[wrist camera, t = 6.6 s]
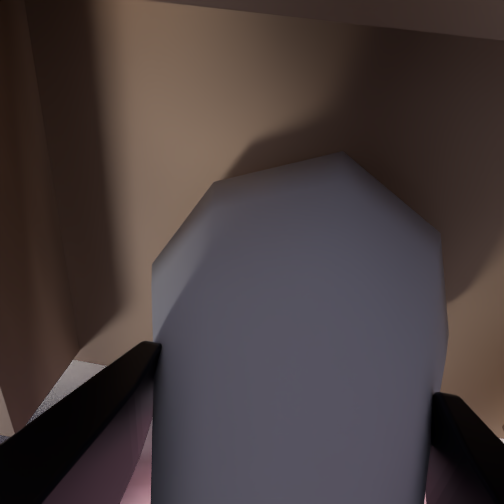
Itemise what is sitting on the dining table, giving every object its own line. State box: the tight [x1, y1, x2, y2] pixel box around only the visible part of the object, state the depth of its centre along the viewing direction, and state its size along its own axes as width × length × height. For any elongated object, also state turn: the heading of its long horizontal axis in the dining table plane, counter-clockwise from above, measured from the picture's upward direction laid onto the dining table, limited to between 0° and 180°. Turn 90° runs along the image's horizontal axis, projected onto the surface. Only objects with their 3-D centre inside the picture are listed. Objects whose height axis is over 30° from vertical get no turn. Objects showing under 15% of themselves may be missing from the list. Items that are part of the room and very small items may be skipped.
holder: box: [0, 0, 504, 439], centre depth 9 cm, size 16×12×5 cm
